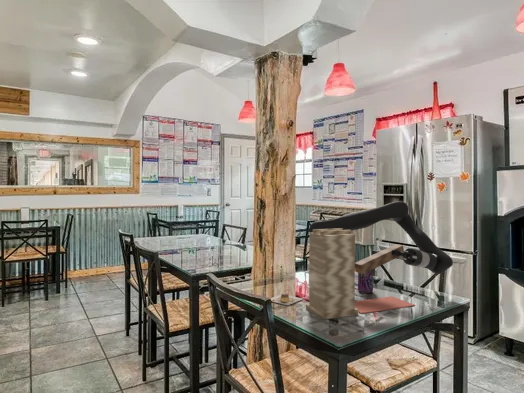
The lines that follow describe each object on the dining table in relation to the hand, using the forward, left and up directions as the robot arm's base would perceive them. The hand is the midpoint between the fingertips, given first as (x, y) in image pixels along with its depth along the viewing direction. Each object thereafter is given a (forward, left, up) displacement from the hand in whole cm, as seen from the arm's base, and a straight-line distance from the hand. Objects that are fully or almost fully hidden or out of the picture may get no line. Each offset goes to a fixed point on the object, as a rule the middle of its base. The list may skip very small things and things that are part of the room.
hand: (388, 251), depth 157 cm
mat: (-4, -1, -23) cm, 24 cm away
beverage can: (-12, +18, -24) cm, 32 cm away
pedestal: (-21, -18, -23) cm, 36 cm away
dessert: (-43, -11, -24) cm, 51 cm away
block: (-3, -3, -5) cm, 6 cm away
